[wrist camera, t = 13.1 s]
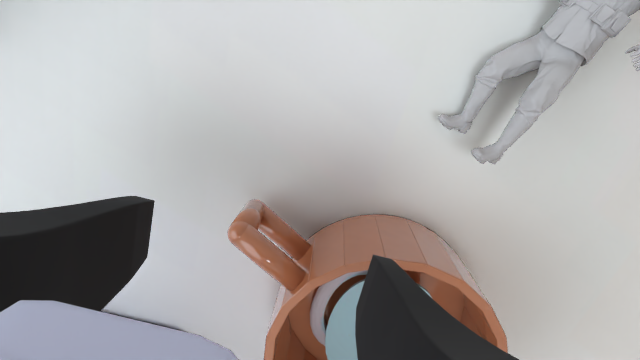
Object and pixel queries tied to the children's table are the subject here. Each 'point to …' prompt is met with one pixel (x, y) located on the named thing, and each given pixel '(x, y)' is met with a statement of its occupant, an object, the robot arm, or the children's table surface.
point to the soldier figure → (544, 65)
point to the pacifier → (338, 318)
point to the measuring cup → (352, 256)
